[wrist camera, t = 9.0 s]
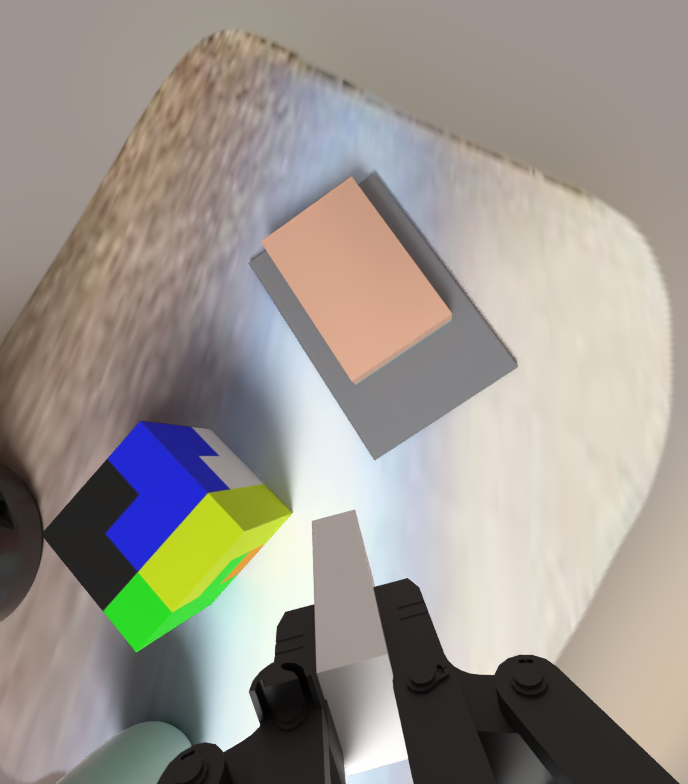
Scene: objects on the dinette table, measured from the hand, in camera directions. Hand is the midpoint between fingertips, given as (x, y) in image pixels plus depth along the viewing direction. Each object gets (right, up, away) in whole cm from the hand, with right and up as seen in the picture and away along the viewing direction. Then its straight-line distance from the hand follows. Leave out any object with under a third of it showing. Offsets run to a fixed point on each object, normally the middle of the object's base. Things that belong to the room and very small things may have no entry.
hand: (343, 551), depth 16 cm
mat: (+3, +12, +23) cm, 26 cm away
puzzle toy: (-11, -5, +24) cm, 27 cm away
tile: (+5, +9, +21) cm, 23 cm away
